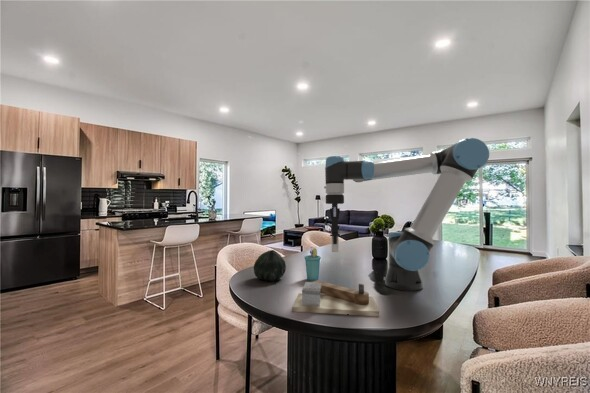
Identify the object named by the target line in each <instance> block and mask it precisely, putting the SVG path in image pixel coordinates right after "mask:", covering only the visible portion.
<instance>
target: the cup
mask: <svg viewBox="0 0 590 393" xmlns="http://www.w3.org/2000/svg"><path fill="white" fill-rule="evenodd" d="M309 253H310V254H309V255H305V256H304V260H305V268H306V279H307V280H308V281H310V282H313V281H316V280H318V281H319V274H320V265H321V264H320V261H321V258H322V257H321V256H320V255H318V251H317V248H316V247H313V249H310V250H309Z"/></svg>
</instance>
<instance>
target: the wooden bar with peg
mask: <svg viewBox="0 0 590 393" xmlns="http://www.w3.org/2000/svg"><path fill="white" fill-rule="evenodd" d="M312 282H318V283H322V287H321V292H320V294H324V295H330V296H333V297H337V298H341V299H344V300H348V301H351V302H355V303H356V304H360V305H366V304H368V303H369V297H370V293H369V292H368V291H365V284H364V283H358V290H357V289H354V288H350V287H346V286H341V285H337V284H334V283H329V282H326V281H321V280H319V279H318V280H316V281H312Z"/></svg>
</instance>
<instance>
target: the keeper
mask: <svg viewBox="0 0 590 393" xmlns="http://www.w3.org/2000/svg"><path fill="white" fill-rule="evenodd" d="M321 287H322V283H318V282H313V281H305V283H304V285H303V287H302V290H301V294H302V306H320V303H321V300H320V294H321V293H320V292H321Z"/></svg>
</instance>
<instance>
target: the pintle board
mask: <svg viewBox="0 0 590 393" xmlns="http://www.w3.org/2000/svg"><path fill="white" fill-rule="evenodd" d="M320 300H321V303H320V306H302V292H300V293H298V294H297V296H296V299H295V301H294V303H293V305H292V312H294V313H296V312H298V313H313V314H314V313H316V314H330V315H331V314H333V315H347V314H349V315H350V316H364V317H365V316H367V317H368V316H369V317H380V309H379V306H378V304H377V302H376V299H375V297H374V296H369V303H368V304H366V305H360V304H356V303H355V302H351V301H348V300H344V299H341V298H337V297H333V296H330V295H326V294H323V293H320ZM349 315H348V316H349Z"/></svg>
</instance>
